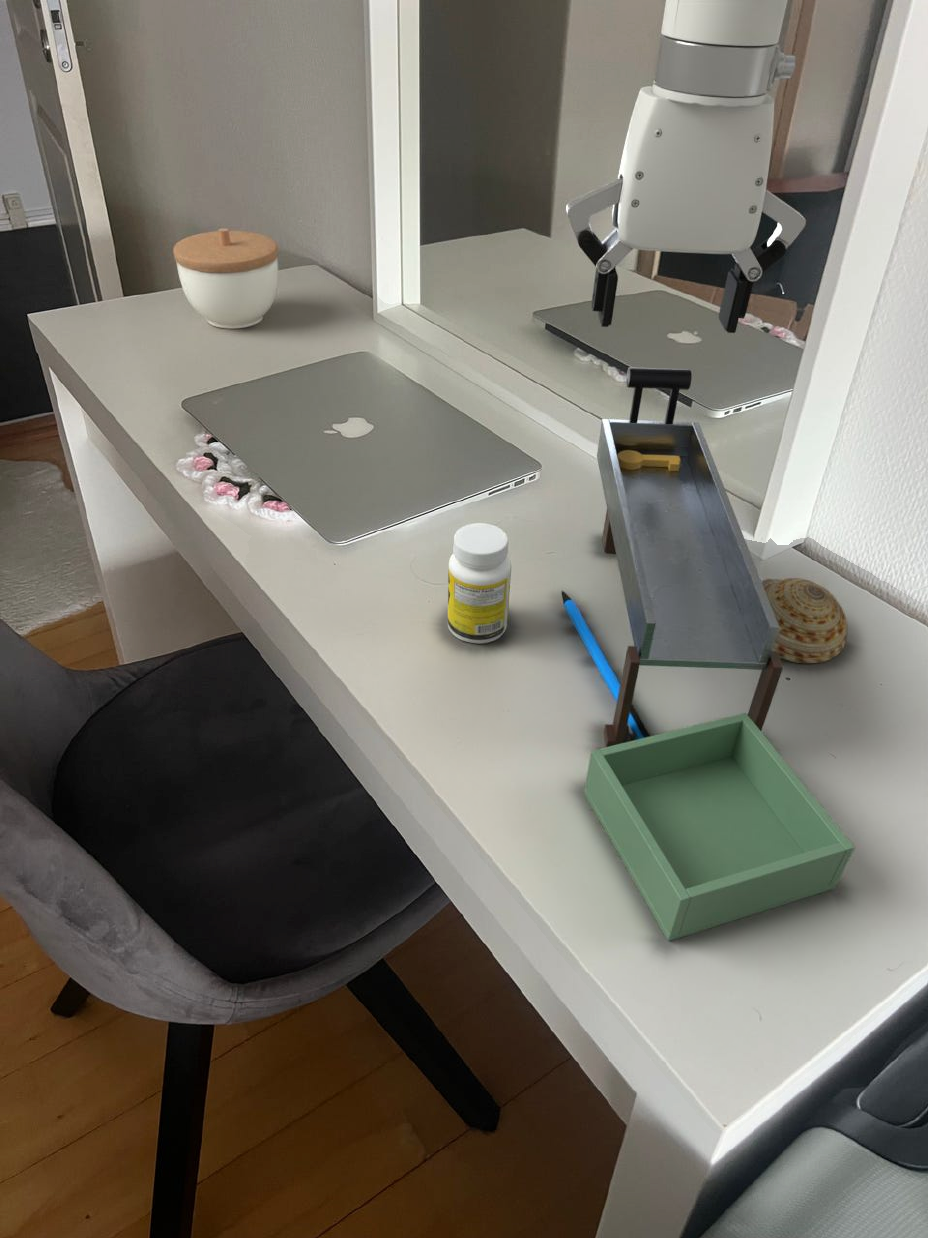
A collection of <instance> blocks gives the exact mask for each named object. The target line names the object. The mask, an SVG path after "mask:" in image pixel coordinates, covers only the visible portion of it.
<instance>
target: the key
mask: <svg viewBox="0 0 928 1238" xmlns="http://www.w3.org/2000/svg"><path fill="white" fill-rule="evenodd" d="M617 457H618V461H619V465H620V467H621V468H624V469H627V470H636V469H639V468H641V467H642V466H648V467H668V469H669V471H679V467H680V463H681V460H680V457H679V456H670V455H643V454H641V453H639V452H636V451H632V450H624V451H621V452H619V453H618V455H617Z"/></svg>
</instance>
